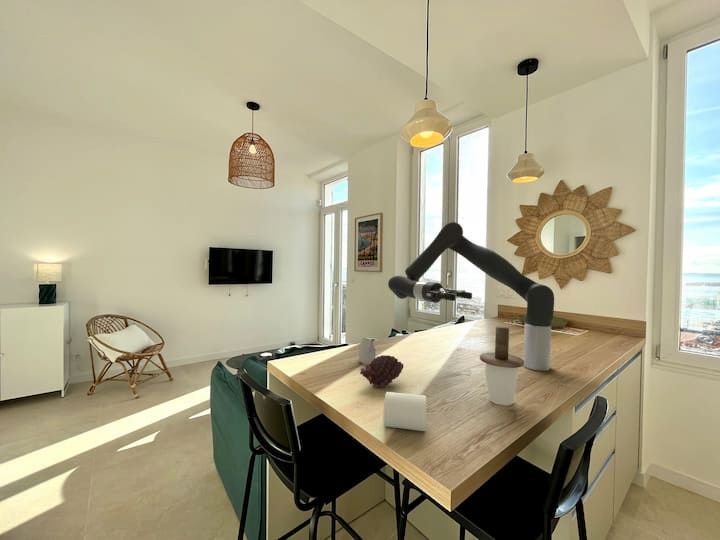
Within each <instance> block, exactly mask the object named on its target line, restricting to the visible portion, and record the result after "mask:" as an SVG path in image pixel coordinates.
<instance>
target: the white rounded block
mask: <svg viewBox="0 0 720 540" xmlns="http://www.w3.org/2000/svg"><path fill="white" fill-rule="evenodd" d="M383 402H384V403H383V416H382V417H383V426H384V427H387V428H395V429H402V430H403V429H404V430H410V431H419V432H426V430H427V429H426V428H427V426H426V425H427V395H421V394H412V393H402V392H393V391H386V392H385V395H384V401H383Z"/></svg>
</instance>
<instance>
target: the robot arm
mask: <svg viewBox="0 0 720 540" xmlns="http://www.w3.org/2000/svg"><path fill="white" fill-rule="evenodd" d="M447 249H450V250H451V251H453V252H455V253H457V254H458V255H460V256H462V257H463V258H465V260H467V261H468V262H470V263H471V264H472V265H473V266H475V267H476V268H478V269H479V270H480V271H482V272H483V273H485V274H486V275H487V276H489V277H490V278H492V279H494V280H495V281H496V282H497V281H498V282H499V283H500V284H502V285H504V286H506V287H508V288H510V289H511V290H512V291H514V292H515V293H517V295H519V296H520V298H522V299H523V300H524V301H525V302H526V314H525V317H524V330H523V331H524V334H523V339H524V340H523V358H522V359H523V360H524V366H523V367H524V368H526V369H530V370H534V371H539V372H546V371H550V370H551V369H550V368H551V353H552V351H551V349H552V348H551V347H552V345H551V344H552V343H551V342H552V341H551V340H552V321H553V319H554V312H555V311H554V310H555V294H554V292H553V290H552V288H550V287H549V286H547V285H544V284H541V283H539V282H536V281H535V280H532V279H530V278H529V277H527V276H525V275H524V274H523V273H521V272H520V271H519V270H518V268H516V267H515V266H514V265H513V264H512V263H511V262H509V261H508V260H507V259H506V258H505V257H503V256H502V255H501V254H499V253H497V252H496V251H493V250H491V249H490V248H488V247H484V246H482V245H478V244H476V243H474V242H472V241H471V240H469V239H468V238H466V237H465V236H464V229H463V227H462V225H461V224H460V223H458V222H455V221H448V222H446V223H444V225H442V227H441V229H440V231H439V232H438V234H437V235H436V236H435V238H434V239H433V241H431V242H430V244H429V245H428V246H427V247H426V248H425V249H424V250H423V251H422V252H421V253H420V254H419V255H417V257H416V258H415V259H414V260H413V261H412V262H411V263H410V264H409V265H408V266H407V267H406V269H405V270H404V272H405V275H406V276H404V275H394V276H391V278H389V280H388V281H387V286H388V289H389V290H390V291H391V292H392V293H393V294H394V295H395V296H396V297H397V298H398V299H401V300H404V299H407V298H411V299H416V300H420V301H424V302H428V303H432V304H433V303H434V304H437V303H438V304H439V302H441V301H453V302H455V301H456V300H457V298H458V299H467V300H473V292H470V291H466V290H465V289H456V288H448V287H443V285H442V283H440V282H435V281H427V280H421V281H420V279H421V278H422V277H423V276H424V275H425V274H426V273H427V272H428V270H429V269H430V268H431V267H432V266H433V265H434V263H435V262H436V261H437V260H438V258H439V257H440V256H441V255H442V254H443V253H444V252H445V251H446V250H447Z"/></svg>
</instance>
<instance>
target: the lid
mask: <svg viewBox="0 0 720 540" xmlns="http://www.w3.org/2000/svg"><path fill="white" fill-rule="evenodd" d="M494 342H495V345H494V347H495V348H494V352H483V353H481V354H479V359H480V361H481V362H483V363H485V364H486V363H487V364H490V365H494V366H498V367H506V368H518V369H519V368H522V367H525V366H524V360H523V359H524V358H521V357H518V356H516V355H513V354H509V345H510V328H509V327H507V326H501V325H499V326H495V341H494Z"/></svg>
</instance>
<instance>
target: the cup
mask: <svg viewBox="0 0 720 540" xmlns="http://www.w3.org/2000/svg"><path fill="white" fill-rule="evenodd" d="M484 371H485V379H486V388H487V397H488V398H487V399H488V400H489V401H490V402H491V403H493V404H495V405H498V406H503V407H504V406H506V407H507V406H511V405H513V403H514V400H515V393H516V389H517V383H518V378H519V367H518V368H506V367H498V366H494V365H490V364H487V363H485V367H484Z"/></svg>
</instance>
